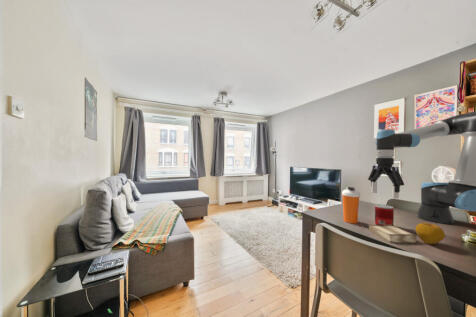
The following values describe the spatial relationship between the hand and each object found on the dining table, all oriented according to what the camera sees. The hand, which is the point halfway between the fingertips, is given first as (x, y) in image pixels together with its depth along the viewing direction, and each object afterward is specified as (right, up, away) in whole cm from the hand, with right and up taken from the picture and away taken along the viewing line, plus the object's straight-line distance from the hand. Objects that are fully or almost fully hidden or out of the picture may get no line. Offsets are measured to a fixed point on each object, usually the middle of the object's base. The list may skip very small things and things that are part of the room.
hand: (383, 195), depth 97 cm
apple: (+4, -17, -20) cm, 27 cm away
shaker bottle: (-15, -17, +6) cm, 23 cm away
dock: (-8, -17, -13) cm, 23 cm away
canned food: (0, -17, 0) cm, 17 cm away
